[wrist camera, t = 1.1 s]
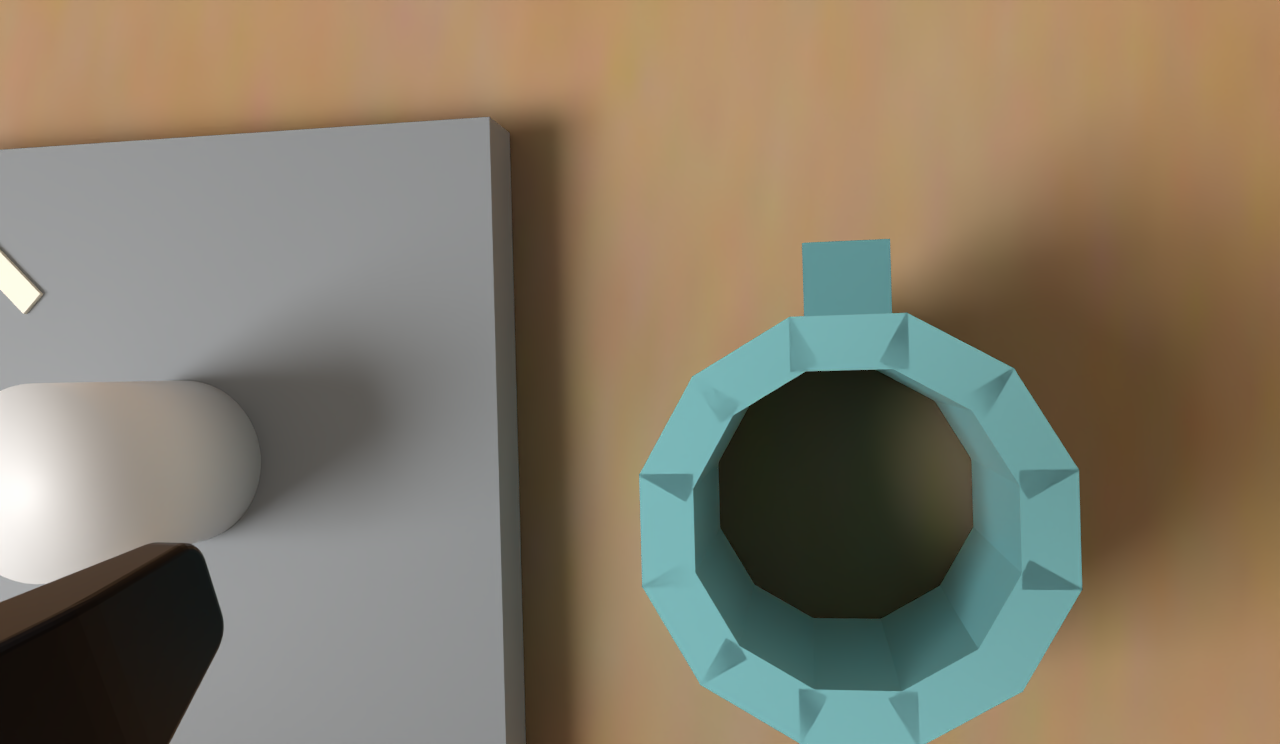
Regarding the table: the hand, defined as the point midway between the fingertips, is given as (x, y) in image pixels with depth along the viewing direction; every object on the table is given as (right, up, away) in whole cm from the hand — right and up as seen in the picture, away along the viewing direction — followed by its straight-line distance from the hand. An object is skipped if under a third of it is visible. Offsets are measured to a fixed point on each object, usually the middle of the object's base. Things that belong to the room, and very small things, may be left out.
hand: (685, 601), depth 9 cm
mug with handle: (+4, -1, +13) cm, 14 cm away
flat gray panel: (-10, 0, +16) cm, 19 cm away
